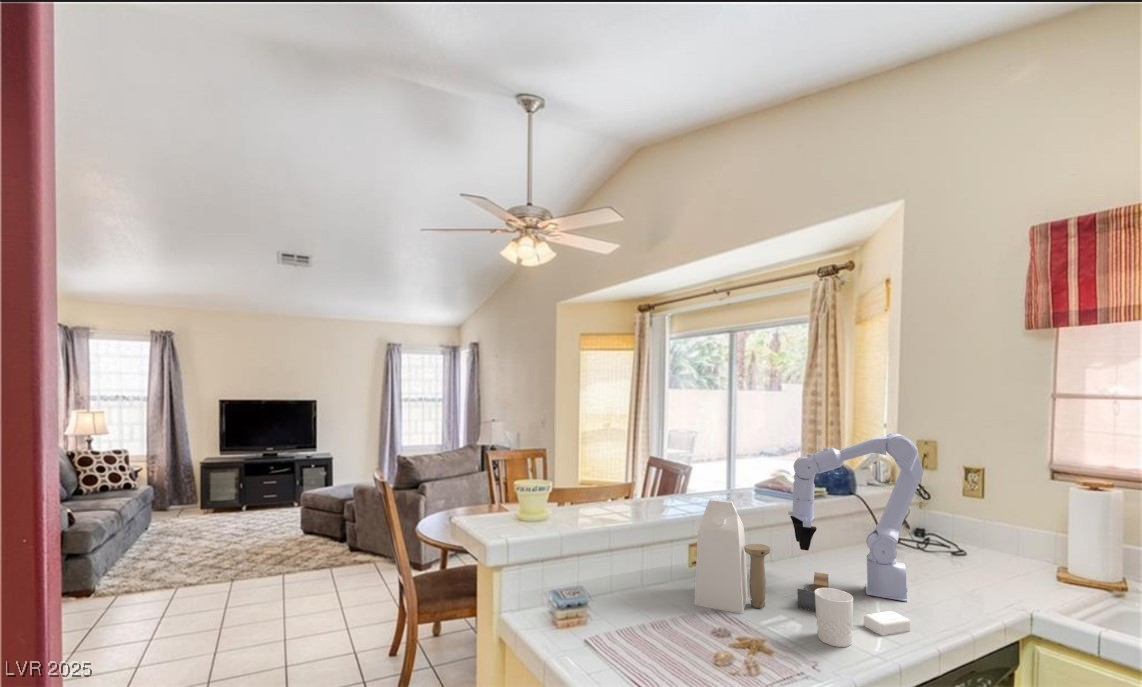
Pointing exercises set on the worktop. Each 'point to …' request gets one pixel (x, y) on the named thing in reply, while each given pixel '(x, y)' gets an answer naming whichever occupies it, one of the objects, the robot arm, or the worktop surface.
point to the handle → (757, 573)
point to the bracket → (806, 599)
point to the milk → (721, 559)
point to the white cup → (834, 616)
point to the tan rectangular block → (820, 581)
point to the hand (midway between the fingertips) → (802, 545)
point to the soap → (887, 623)
